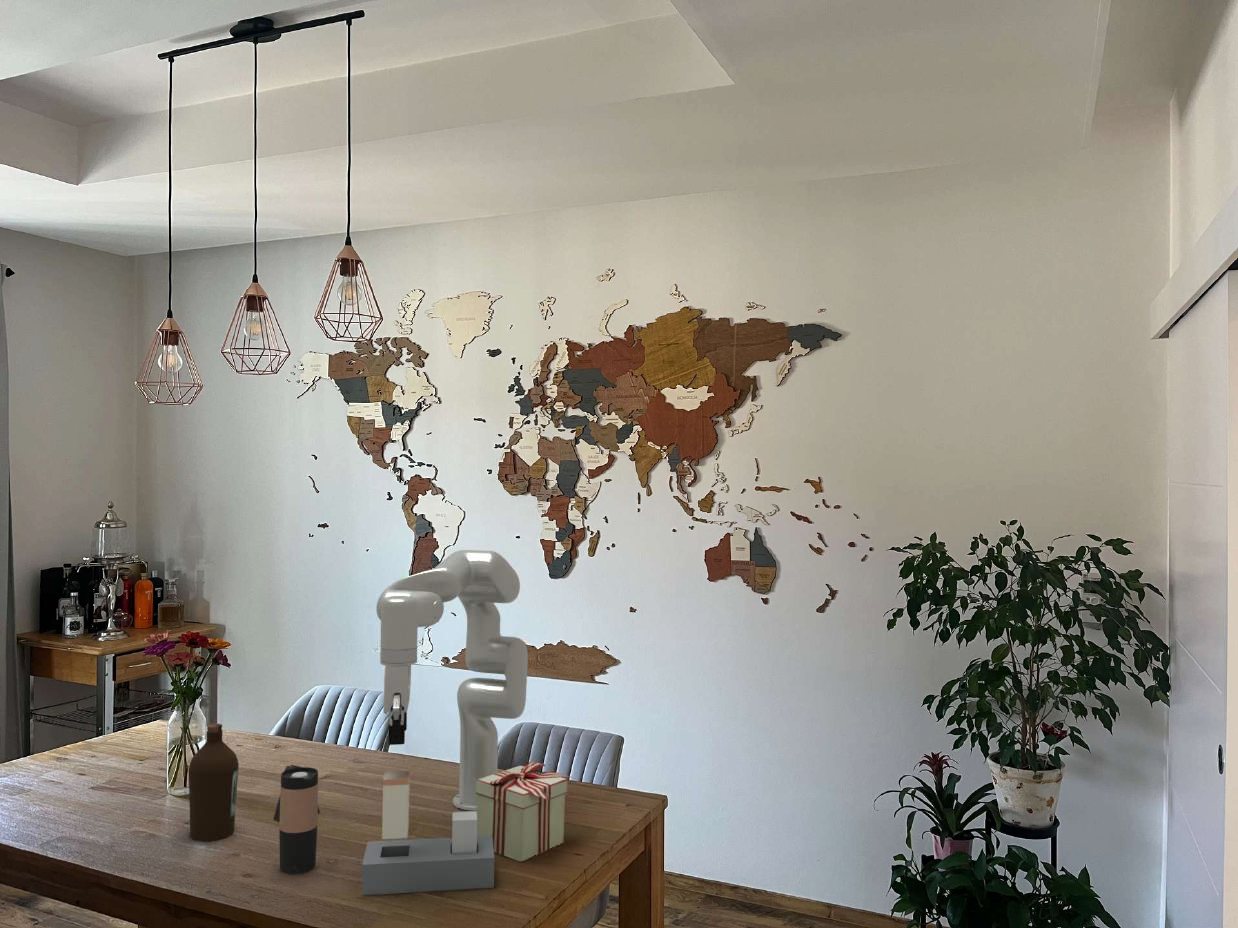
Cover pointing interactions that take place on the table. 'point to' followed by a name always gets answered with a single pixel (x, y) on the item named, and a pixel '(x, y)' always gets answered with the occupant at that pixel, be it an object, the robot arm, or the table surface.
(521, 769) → the gift box
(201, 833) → the olive oil
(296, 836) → the travel mug
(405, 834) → the cream plug
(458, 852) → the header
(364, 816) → the table surface
